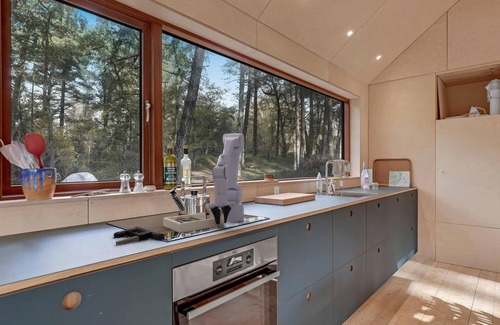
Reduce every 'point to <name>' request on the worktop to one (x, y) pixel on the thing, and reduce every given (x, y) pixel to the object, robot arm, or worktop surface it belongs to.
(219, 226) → the handle
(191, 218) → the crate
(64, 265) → the worktop surface
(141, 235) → the door handle
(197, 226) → the tray
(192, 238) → the worktop surface
